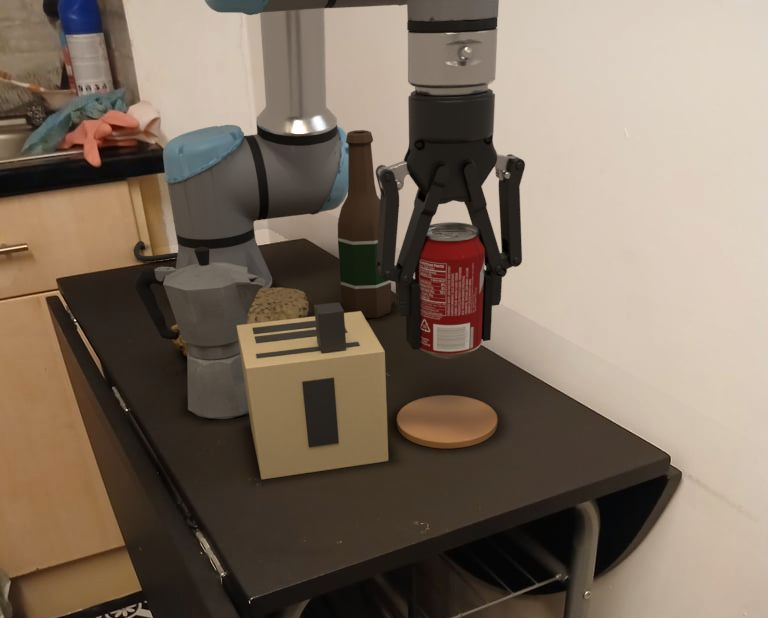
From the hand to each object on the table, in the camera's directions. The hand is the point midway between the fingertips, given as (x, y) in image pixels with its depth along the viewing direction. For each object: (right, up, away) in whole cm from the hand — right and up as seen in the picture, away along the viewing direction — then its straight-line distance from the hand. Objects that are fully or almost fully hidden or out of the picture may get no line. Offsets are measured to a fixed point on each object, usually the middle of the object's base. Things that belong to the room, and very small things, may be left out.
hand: (448, 339), depth 81 cm
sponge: (-25, +5, +26) cm, 36 cm away
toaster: (-14, -11, +3) cm, 18 cm away
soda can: (0, -1, +1) cm, 1 cm away
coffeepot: (-26, -5, +12) cm, 29 cm away
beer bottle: (-9, +12, +35) cm, 38 cm away
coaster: (0, -8, +6) cm, 10 cm away
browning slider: (-12, -2, -6) cm, 13 cm away
